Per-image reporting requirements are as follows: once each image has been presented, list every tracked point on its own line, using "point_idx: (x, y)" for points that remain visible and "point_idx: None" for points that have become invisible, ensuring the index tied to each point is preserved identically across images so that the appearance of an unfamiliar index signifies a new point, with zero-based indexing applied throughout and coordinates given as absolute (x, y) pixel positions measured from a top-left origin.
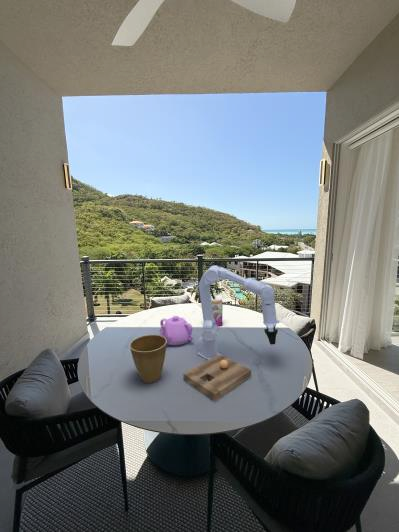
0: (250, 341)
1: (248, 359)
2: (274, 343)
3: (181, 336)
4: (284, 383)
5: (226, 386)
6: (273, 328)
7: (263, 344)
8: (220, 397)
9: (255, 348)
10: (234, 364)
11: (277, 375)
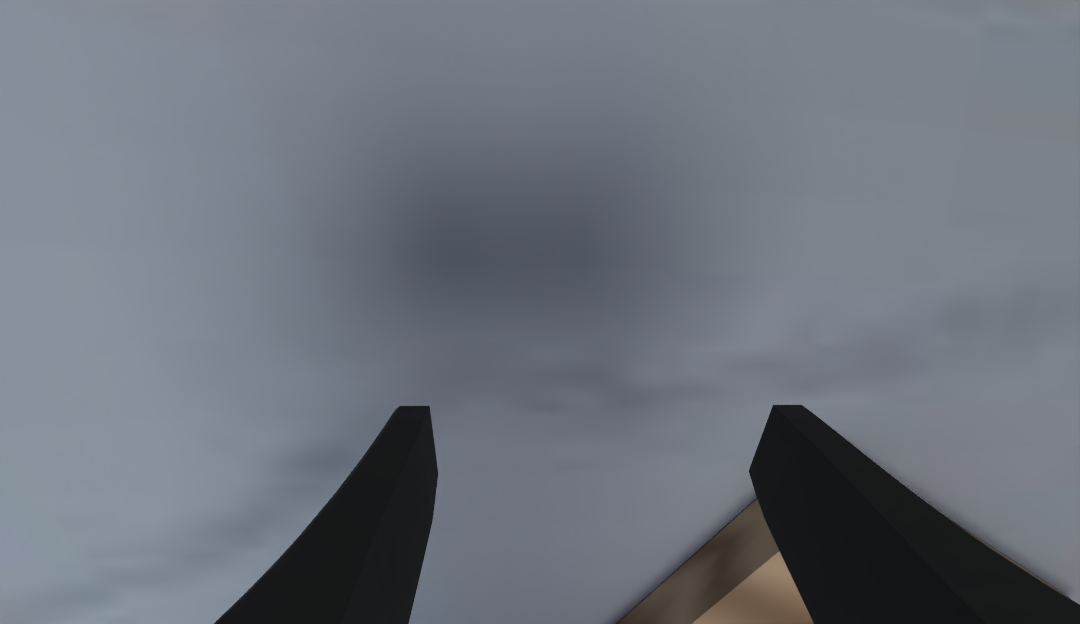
0: (162, 469)
1: (550, 467)
2: (813, 427)
3: None
4: (957, 162)
5: None
6: (363, 616)
7: (165, 344)
8: (1042, 580)
9: (306, 420)
10: (766, 594)
11: (814, 222)
